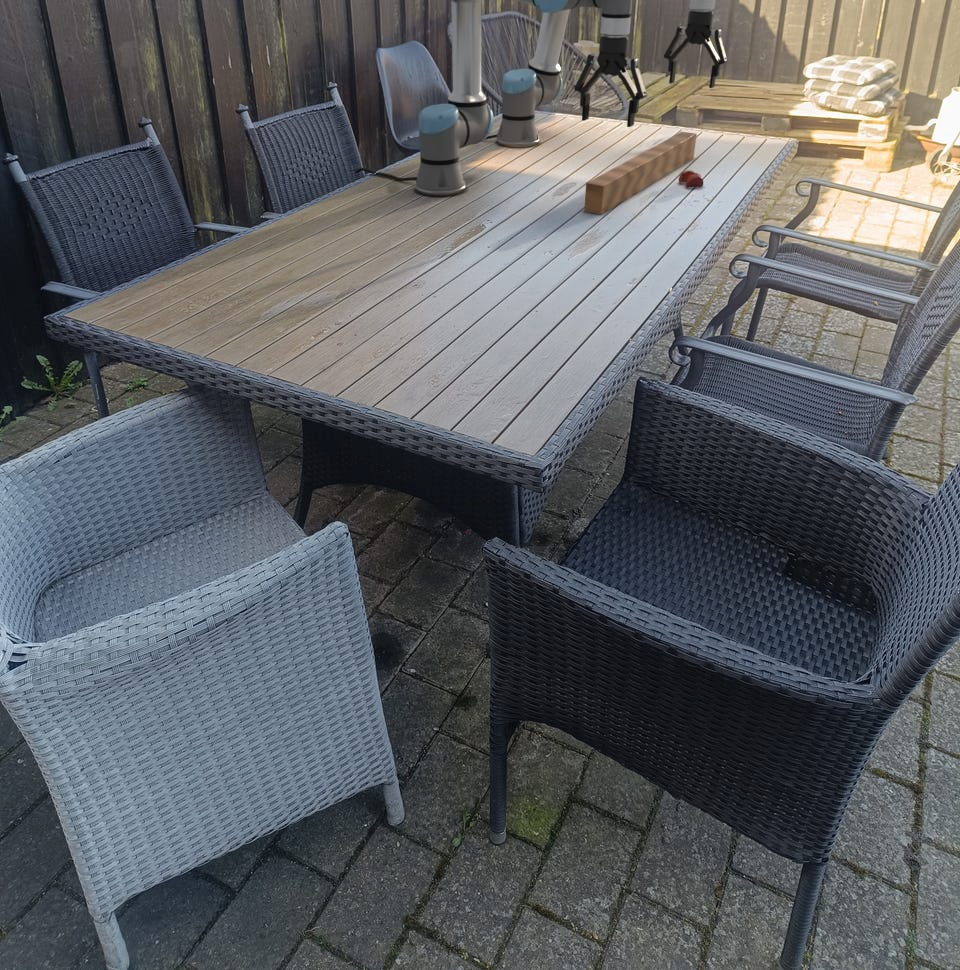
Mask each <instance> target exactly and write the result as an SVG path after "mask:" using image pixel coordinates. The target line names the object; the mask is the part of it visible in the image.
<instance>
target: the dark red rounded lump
mask: <svg viewBox="0 0 960 970" xmlns="http://www.w3.org/2000/svg"><path fill="white" fill-rule="evenodd" d="M682 183H685V188H686V189H689V188H691V189H692V188H700V187H701V188H702V187H703V186H704V179H703V178H702V175H701V174H700V173H698V172H695V171H694V170H690V169H689V170H684V171H682V172H681V173H680V174H679V177H678V184H682Z"/></svg>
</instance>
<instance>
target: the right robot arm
mask: <svg viewBox="0 0 960 970" xmlns="http://www.w3.org/2000/svg"><path fill="white" fill-rule="evenodd" d="M715 5H716V0H690V1H689V9H690V10H689V11H688V14H687V15H688V16H687V24H686V27H684V26H683V25H680V26H677V27H676V31H675V34H674V36H673V38H672V40H671V42H670V44H669V46H668V47H667V49H666V50H665V53H664V54H663V58H664V59H666V60H668V67H667V71H668V73H669V80H668V84H669V85H672V84H674V83H675V80H676V73H677V72H676V71H677V65H678V59H677V57H678V56H679V55H680V54H681V53H682V52H683V51H684V50H685V49H686V47H687V46H688V45H689V44H691V45H699V46H701V45H703V46H704V48H705V49H706V51H707V52H708V55H709V56H710V58H711V59H712V61H713V63H714V64H713V65H712V67H711V71H710V72H711V73H710V78H709V79H710V80H709V86H708V88H709V89H713V88H715V84H716V78H717V77H719V76H720V71H721V65H724V64H726V63H727V62H728V58H727V53H726V50H725V46H724V42H723V39H722V29H721V28H717V29H713V27H712V26H713V21H714V15H715V14H714V11H713V10H714V9H715ZM570 10H571V9H568V10H563V11H559V12H556V13H545V12H542V19H541V24H540V27H539V33H538V38H537V42H536V47H535V53H534V57H533V58H532V59H530V60H529V61H528V65H527V68H518V69H512V70H509V71H507V72H506V73H504V75H503V77H502V84H501V89H502V91H501V92H502V93H501V94H502V96H501V102H502V103H501V122H500V124H499V128H498V132H497V134H490V135H489V136H488V137H487V138H486V139H484V140H483V141H486V140H490V139H495V138H496V144H498V145H499V146H503V147H508V148H530V147H535V146H537V145H539V143H540V133H539V132H538V128H537V124H536V119H535V117H536V108H537V107H541V106H546V105H549V104H550V103H552V102H554V101H556V99H558V97H559V96H560V94H561V93H562V91H563V78H562V74H561V71H562V67H561V66H560V64H559V59H560V55H561V50H562V46H563V42H564V37H565V33H566V29H567V24H568V20H569V15H570ZM684 34H685V35H686V37H685V39H684V40H683V41H682V42H681V44H680V45H679V46H678V47H677V48H676V46H677V44H678V42H679V41H680V39H681V37H682V36H683V35H684ZM711 36H712V37H713V38H714V42H715V46H716V49H715V47H714V45H713V43H712V40H711V39H710V37H711ZM674 49H675V50H674ZM673 51H674V52H673ZM676 59H677V60H676Z"/></svg>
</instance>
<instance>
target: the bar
mask: <svg viewBox="0 0 960 970" xmlns="http://www.w3.org/2000/svg"><path fill="white" fill-rule="evenodd" d="M697 135H698V133H695V132H687V131H681V132H679V133H677V134H675V135H673V136H671V137H669V138H667V139H666V140H663V141H661V142H660V143H657V144H656V145H654V146H653V147H651V148H648V149H646V150H645V151H643V152H641V153H639V154H637V155H636V156H634V157H632V158H630V159H628V160H627V161H624V162H623V163H621V164H619V165H618V166H615V167H613V168H612V169H609V170H608V171H606V172H604V173H602V174H600V175H599V176H596V177H595V178H593V179H591V180H589V181H588V182H586V183H585V194H584V208H583V209H584V210H583V211H584V212H585V213H590V214H596V215H603V214H605V213H606V212H608V211H610V210H612V209H613V208H615V207H616V206H617V205H619V204H621V203H623V202H624V201H627V200H628V199H629V198H631V197H633V196H634V195H636V194H638V193H639V192H641V191H642V190H644V189H645V188H647V187H649V186H651V185H653V184H654V183H656V182H657V181H659V180H661V179H662V178H663V177H665V176H667V175H668V174H670V173H672V172H673V171H675V170H677V169H679V168H680V167H682V166H683V165H685V164H687V163H688V162H690V161H691V160H693V159H694V157H695V151H696V150H695V149H696V144H697V143H696V142H697Z"/></svg>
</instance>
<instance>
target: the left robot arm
mask: <svg viewBox="0 0 960 970" xmlns="http://www.w3.org/2000/svg"><path fill="white" fill-rule="evenodd" d="M450 1H451V2H450V3H451V4H450V5H451V7H450V8H451V55H452V58H451V59H452V61H451V62H452V63H451V64H452V92H451V93H450V95H449V96H448V97H447V103H438V104H431V105H428V106H426V107H424V108H423V109H422V110H420V112H419V114H418V126H417V127H418V137H419V138H418V139H419V157H420V158H419V159H420V161H419V162H420V164H419V168H418V172H417V176H409V177H407V176H406V177H400V176H396V175H393V174H389V173H385V172H379V171H376V170H372V169H370V168H367V167H358V168H357V169H356V170H355V172H354V173H355V174H359V173H360V172H366V173H369V174H372V175H374V176H380V177H385V178H390V179H393V180H396V181H399V182H409V181H415V185H414V186H415V192H417V193H418V194H420V195H424V196H430V197H450V196H455V195H459V194H461V193H463V192H464V191H466V181H465V179H464V176H463V172H462V169H461V165H460V149H463V148H465V147H468V146H473V145H477V144H479V143H480V142H482V141H485V140H484V139H486V138H487V137H488V136H490V135H491V133H492V131H493V129H494V128H493V127H494V121H495V120H494V119H495V117H494V112H493V110H492V109H491V106H490V105H489V103H487V96H486V95H485V94H484V92H483V91H482V1H483V0H450ZM512 1H513V2H517V3H521V4H526V5H530V6H533V7H536V8H537V9H538V10H539V11H540V12H542V13H544V12H545V13H556V12H559V11H563V10H568V9H570V10H574V9H579V8H596V9H597V8H598V9H601V18H600V31H599V34H601V36H600V37H599V42H598V43H599V45H598V55H597V54H596V53H590V54H587V58H586V63H585V66H584V67H583V69H582V72H581V73H580V76H579V77H578V79H577V82H576V84H575V85H574V88H573V89H574V92H578V93H579V95H580V99H579V100H580V101H579V106H580V108H582V110H581V121H582V122H585V121H587V120H589V119H590V117H589V116H590V106H591V104H590V103H591V93H589V91H590V90H591V89H592V88H593V86H594V85H595V84H596V83H597V82H598V80H600V78H601V77H602V76H603V75H604V76H612V77H616V76H618V78H619V79H620V80H621V82H622V84H623V85H624V87H625V89H626V90H627V92H628V94H629V96H630V98H631V99H630V100H629V101H628V110H627V111H628V112H627V123H626V127H627V128H631V127H632V126H635V116H636V114H637V113H639V107H640V106H639V105H640V100H643V99H645V98H647V96H648V93H647V89H646V87H645V83H644V80H643V77H642V74H641V70H640V67H639V65H640V64H639V63H640V59H639V58H638V57H634V58H629V57H628V52H629V44H630V43H629V42H630V37H629V36H628V35H630V33H631V31H630V30H631V23H632V22H631V19H632V8H633V0H512ZM596 63H597V64H598V66H599V67H598V68H597V69H596V70H595V72H594V73H593V74H592V76H591V77H590V78H589V79H588V77H589V76H590V73H591V71H592V69H593V67H594V65H595V64H596ZM626 66H628V68H629V69H630V72H631V75H632V79H633V80H632V79H631V77H630V75H629V72H628V70H627V68H626ZM587 79H588V81H587ZM586 81H587V82H586ZM486 140H487V139H486ZM376 172H378V173H376ZM374 173H376V174H374Z"/></svg>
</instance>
